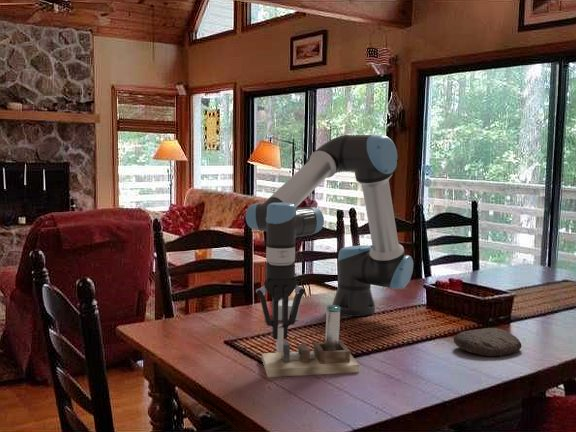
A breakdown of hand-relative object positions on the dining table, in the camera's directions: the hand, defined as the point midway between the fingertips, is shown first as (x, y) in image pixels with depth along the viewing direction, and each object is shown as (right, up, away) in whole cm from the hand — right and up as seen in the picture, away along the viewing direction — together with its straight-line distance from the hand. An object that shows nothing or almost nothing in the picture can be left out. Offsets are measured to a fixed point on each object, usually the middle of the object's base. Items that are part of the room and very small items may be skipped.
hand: (279, 350), depth 160 cm
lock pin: (+5, -2, +1) cm, 6 cm away
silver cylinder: (+14, -3, +3) cm, 14 cm away
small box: (+2, +1, +47) cm, 48 cm away
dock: (+8, -5, +2) cm, 9 cm away
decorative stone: (+60, -4, +17) cm, 63 cm away
